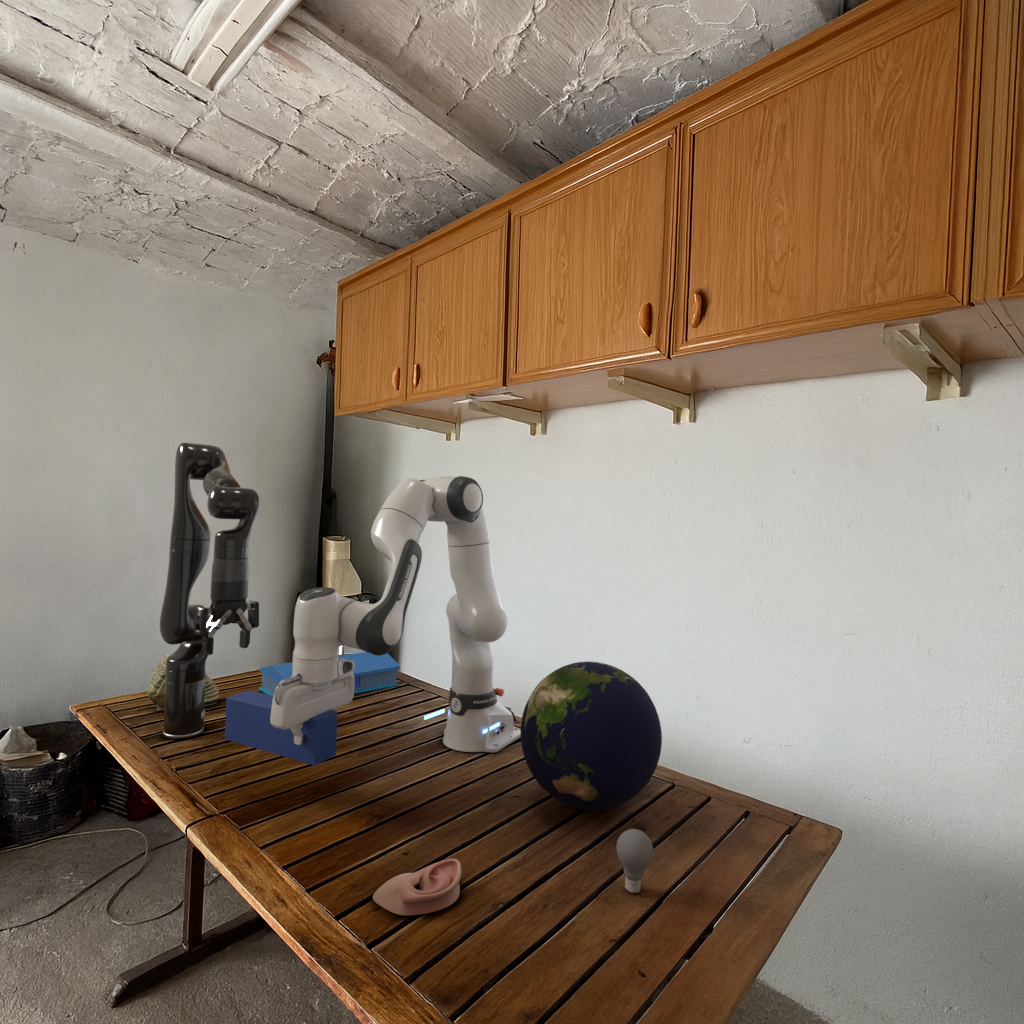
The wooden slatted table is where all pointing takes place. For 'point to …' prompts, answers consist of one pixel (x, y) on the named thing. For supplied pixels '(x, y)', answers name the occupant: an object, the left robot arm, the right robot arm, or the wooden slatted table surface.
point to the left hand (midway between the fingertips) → (226, 650)
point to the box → (255, 730)
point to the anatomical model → (421, 889)
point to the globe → (591, 735)
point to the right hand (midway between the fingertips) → (313, 737)
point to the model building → (367, 671)
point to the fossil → (158, 687)
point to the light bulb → (634, 857)
